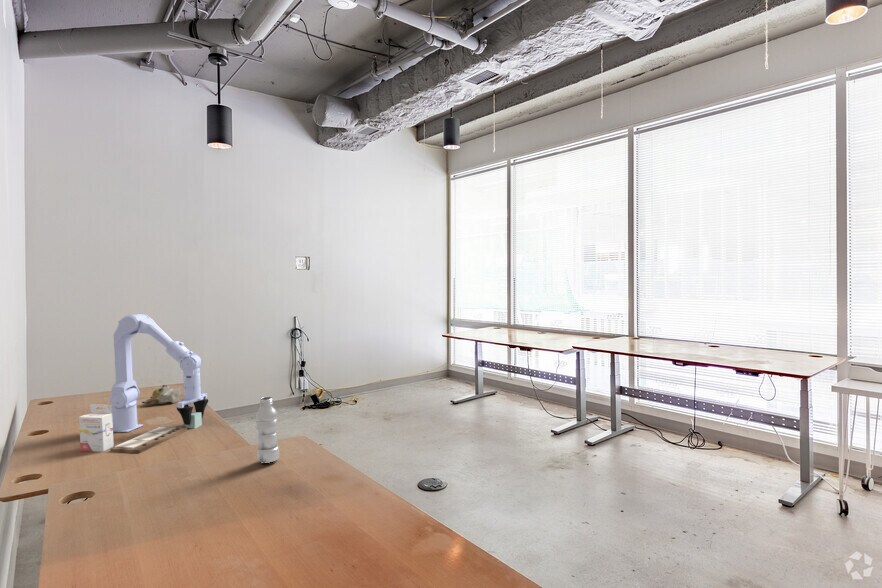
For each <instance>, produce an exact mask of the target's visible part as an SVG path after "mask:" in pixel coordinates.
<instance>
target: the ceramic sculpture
mask: <svg viewBox="0 0 882 588" xmlns="http://www.w3.org/2000/svg"><path fill="white" fill-rule="evenodd" d="M181 395H182V394H181V386H178V387H175V388H171V386H169V385H167V384H163V385H162V386H161V387H158V388H156V389H154V391H153V392H152V396H150V398H148V399H146V400H143V401H141V404H145V405H151V406H152V405H156V404H157V405H158V404H159V405H163V404H166V403H171V404H177V403H178V401H179V399H180V396H181Z"/></svg>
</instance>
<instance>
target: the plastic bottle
mask: <svg viewBox="0 0 882 588" xmlns="http://www.w3.org/2000/svg"><path fill="white" fill-rule="evenodd" d="M273 398H274V397H272V396H266V397H261V398H260V399H259V406H260V407H259V409H258V411H256V414H255V422H256V427H257V435H258V436H257V437H258V440H257V441H258V442H257V450H256V457H257V462H259V463H260V462H263V463H265V462H272V461H275V460H277V461H278V460H279V457H280V448H279V444H278V437H277V436H278V435H277V426H278V417H279V415H278V414H279V413H278V411H277V410H276V408H275V407H274V406H273V405H274V401H273ZM275 462H276V461H275Z"/></svg>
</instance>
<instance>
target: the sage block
mask: <svg viewBox="0 0 882 588" xmlns="http://www.w3.org/2000/svg"><path fill="white" fill-rule="evenodd" d="M202 419H203V418H202V414H201V412H196V411H195V412H194V411H192V413H191V423H190V425H185V428H187V429H197V428H199V427H201V426H202V425H203V420H202Z"/></svg>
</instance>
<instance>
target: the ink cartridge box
mask: <svg viewBox="0 0 882 588" xmlns="http://www.w3.org/2000/svg"><path fill="white" fill-rule="evenodd" d="M111 406H112V405H111V404H98V403H97V404H92V403H91V404H89V413H87V414H84V415H80V416H79V417H78V422H79V423H78V424H79V443H80V445H79V446H80V449H79V450H80V452H98V453H99V452H100V453H101V452H103V453H104V452H105V451H108V450H110V448H113V447H115V446H114V432H113V420H112V411H111ZM98 408H101V409H98Z"/></svg>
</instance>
